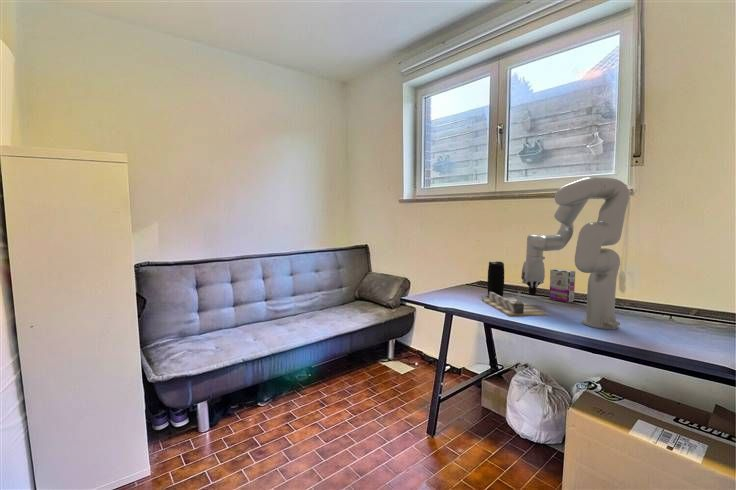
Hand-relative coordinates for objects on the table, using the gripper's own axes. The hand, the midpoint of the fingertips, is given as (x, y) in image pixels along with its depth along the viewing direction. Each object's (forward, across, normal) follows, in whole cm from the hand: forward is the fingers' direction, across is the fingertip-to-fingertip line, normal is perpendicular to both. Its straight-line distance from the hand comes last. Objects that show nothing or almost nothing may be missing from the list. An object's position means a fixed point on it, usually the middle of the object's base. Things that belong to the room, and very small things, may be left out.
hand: (532, 294), depth 174 cm
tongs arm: (+4, +10, +5) cm, 12 cm away
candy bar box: (+5, -20, -6) cm, 22 cm away
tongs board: (+5, +13, +4) cm, 14 cm away
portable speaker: (+6, +11, -18) cm, 22 cm away
